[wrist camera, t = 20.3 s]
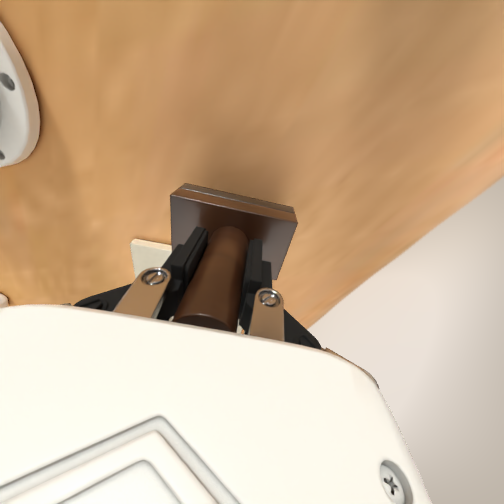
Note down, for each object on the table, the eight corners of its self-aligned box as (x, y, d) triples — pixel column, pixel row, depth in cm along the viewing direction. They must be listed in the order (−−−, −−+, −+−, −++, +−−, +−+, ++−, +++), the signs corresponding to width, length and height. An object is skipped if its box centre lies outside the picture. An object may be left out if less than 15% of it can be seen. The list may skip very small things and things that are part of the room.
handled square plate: (184, 241, 17) (108, 353, 9) (184, 182, 14) (75, 267, 6) (275, 260, 17) (283, 381, 9) (293, 206, 15) (327, 314, 6)
